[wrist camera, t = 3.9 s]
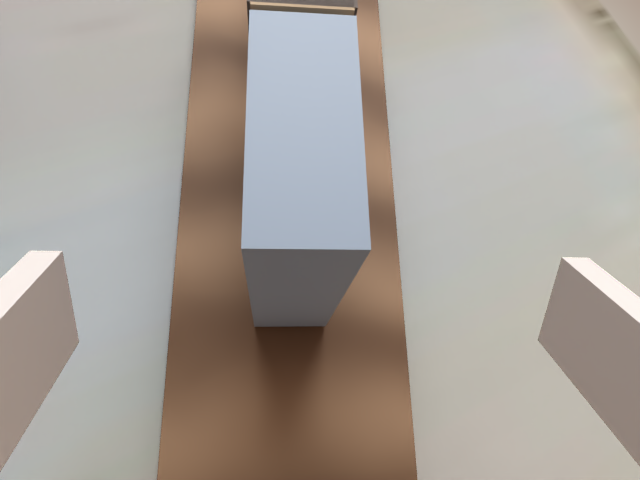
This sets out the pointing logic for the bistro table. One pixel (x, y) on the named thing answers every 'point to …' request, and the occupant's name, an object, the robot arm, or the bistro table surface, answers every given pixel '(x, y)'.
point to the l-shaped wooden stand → (279, 342)
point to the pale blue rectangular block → (303, 167)
